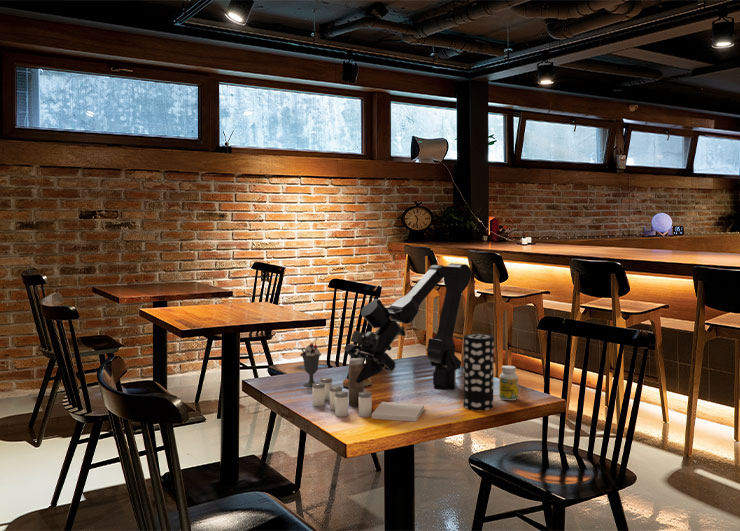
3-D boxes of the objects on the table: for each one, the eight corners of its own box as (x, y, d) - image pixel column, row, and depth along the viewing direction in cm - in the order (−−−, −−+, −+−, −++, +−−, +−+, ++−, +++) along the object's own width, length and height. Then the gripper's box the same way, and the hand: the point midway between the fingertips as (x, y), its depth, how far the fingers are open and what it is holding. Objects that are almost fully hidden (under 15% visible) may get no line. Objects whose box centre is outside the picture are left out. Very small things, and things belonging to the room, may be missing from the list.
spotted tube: (475, 412, 178) (475, 340, 176) (457, 404, 185) (457, 335, 184) (499, 408, 181) (499, 337, 180) (481, 401, 189) (481, 333, 188)
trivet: (423, 408, 181) (423, 404, 181) (416, 421, 169) (416, 417, 169) (382, 406, 184) (382, 401, 184) (371, 418, 172) (371, 414, 172)
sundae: (325, 383, 210) (325, 337, 209) (315, 388, 204) (314, 341, 203) (307, 381, 213) (307, 336, 212) (297, 386, 207) (296, 339, 206)
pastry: (351, 390, 202) (351, 378, 202) (337, 386, 207) (337, 375, 207) (373, 385, 209) (373, 373, 208) (359, 381, 213) (359, 370, 213)
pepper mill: (365, 402, 187) (365, 358, 187) (361, 407, 183) (361, 361, 182) (351, 401, 188) (351, 357, 188) (347, 406, 184) (346, 360, 183)
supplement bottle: (519, 397, 193) (519, 365, 192) (516, 402, 188) (517, 369, 187) (500, 396, 194) (501, 364, 194) (497, 400, 189) (498, 368, 189)
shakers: (328, 396, 194) (328, 376, 194) (374, 415, 175) (374, 393, 175) (303, 401, 189) (303, 381, 189) (347, 421, 170) (347, 398, 170)
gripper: (349, 316, 194) (318, 357, 188) (387, 324, 179) (354, 369, 173) (370, 340, 199) (340, 380, 194) (409, 349, 184) (378, 393, 178)
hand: (352, 380), depth 185 cm, fingers closed on pepper mill, 4 cm apart
